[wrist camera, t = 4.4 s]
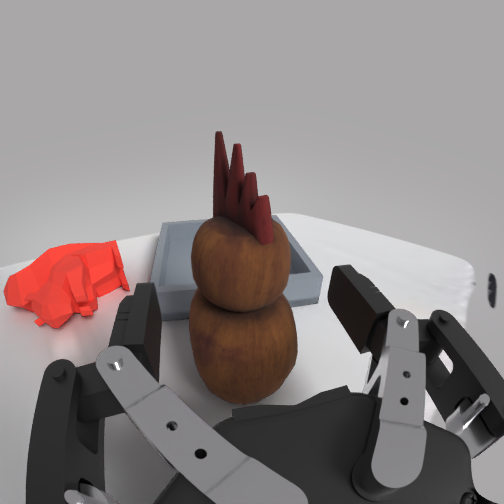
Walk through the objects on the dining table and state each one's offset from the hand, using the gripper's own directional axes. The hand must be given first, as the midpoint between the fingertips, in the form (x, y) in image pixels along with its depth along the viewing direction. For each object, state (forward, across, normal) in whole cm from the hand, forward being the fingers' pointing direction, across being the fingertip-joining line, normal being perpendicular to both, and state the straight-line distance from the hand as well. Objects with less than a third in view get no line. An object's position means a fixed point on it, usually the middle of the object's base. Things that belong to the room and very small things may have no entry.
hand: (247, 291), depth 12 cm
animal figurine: (+11, +17, +9) cm, 22 cm away
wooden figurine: (+2, 0, +9) cm, 9 cm away
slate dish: (+15, -1, +9) cm, 18 cm away
